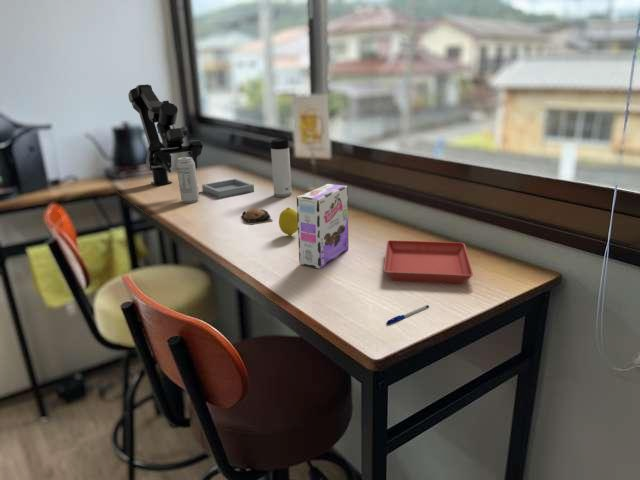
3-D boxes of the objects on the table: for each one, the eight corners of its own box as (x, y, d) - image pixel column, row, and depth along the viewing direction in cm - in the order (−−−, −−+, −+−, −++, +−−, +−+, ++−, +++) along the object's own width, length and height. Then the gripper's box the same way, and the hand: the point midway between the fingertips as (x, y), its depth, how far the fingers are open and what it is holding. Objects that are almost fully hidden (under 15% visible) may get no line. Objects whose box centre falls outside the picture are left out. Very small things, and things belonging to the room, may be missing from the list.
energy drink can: (203, 200, 166) (197, 157, 161) (190, 204, 162) (184, 160, 156) (190, 198, 169) (185, 155, 164) (177, 202, 165) (171, 159, 159)
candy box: (320, 269, 107) (317, 199, 102) (298, 264, 110) (294, 196, 105) (349, 249, 118) (348, 184, 112) (329, 245, 121) (327, 182, 115)
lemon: (303, 233, 130) (301, 205, 128) (295, 240, 126) (294, 211, 123) (284, 231, 132) (282, 204, 129) (276, 238, 127) (274, 209, 125)
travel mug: (292, 197, 166) (288, 139, 159) (273, 197, 166) (269, 139, 159) (293, 192, 172) (290, 136, 165) (275, 193, 172) (271, 137, 165)
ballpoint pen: (388, 327, 84) (389, 322, 83) (385, 324, 84) (385, 320, 84) (429, 308, 90) (429, 303, 89) (425, 306, 90) (426, 301, 90)
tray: (202, 191, 178) (201, 184, 177) (236, 184, 186) (235, 178, 185) (219, 198, 167) (218, 191, 167) (254, 191, 175) (253, 184, 174)
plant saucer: (472, 289, 97) (473, 274, 96) (383, 285, 100) (383, 270, 99) (463, 255, 113) (464, 242, 112) (386, 252, 116) (387, 240, 115)
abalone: (275, 223, 142) (274, 211, 140) (247, 227, 139) (246, 215, 137) (265, 213, 151) (264, 202, 150) (238, 217, 148) (237, 205, 147)
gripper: (143, 121, 158) (158, 159, 153) (197, 116, 168) (213, 151, 163) (141, 143, 167) (155, 179, 162) (192, 137, 176) (207, 171, 172)
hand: (183, 170), depth 164 cm, fingers open, 9 cm apart
